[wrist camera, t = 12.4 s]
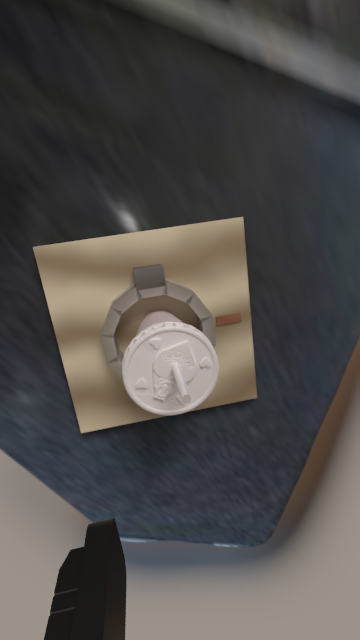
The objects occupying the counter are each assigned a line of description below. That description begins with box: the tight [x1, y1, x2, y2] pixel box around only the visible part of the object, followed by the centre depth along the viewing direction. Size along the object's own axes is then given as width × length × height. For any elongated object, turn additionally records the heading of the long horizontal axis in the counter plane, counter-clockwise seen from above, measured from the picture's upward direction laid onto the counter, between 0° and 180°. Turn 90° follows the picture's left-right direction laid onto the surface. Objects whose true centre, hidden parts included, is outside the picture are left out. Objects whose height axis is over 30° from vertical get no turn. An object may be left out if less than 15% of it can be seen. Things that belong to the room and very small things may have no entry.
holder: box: [33, 217, 257, 433], centre depth 30 cm, size 18×18×4 cm
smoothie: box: [122, 310, 219, 415], centre depth 23 cm, size 6×6×14 cm
